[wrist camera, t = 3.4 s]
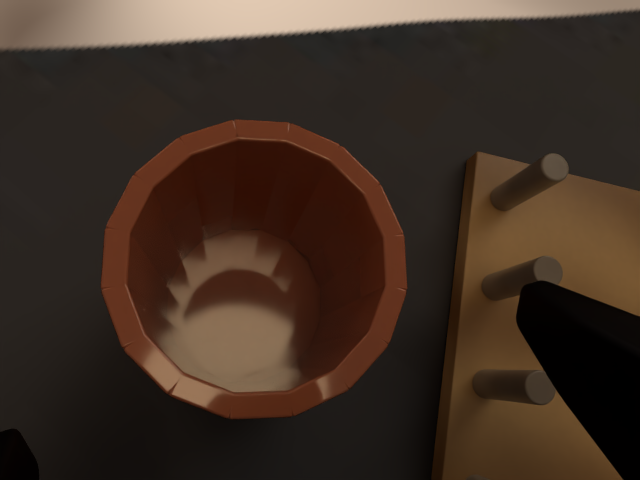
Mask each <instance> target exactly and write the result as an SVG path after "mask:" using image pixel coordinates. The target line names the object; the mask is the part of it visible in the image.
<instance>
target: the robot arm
mask: <svg viewBox="0 0 640 480" xmlns="http://www.w3.org/2000/svg"><path fill="white" fill-rule="evenodd" d="M516 322H517V326H518V328H519V330H520V332H521V333H522V335H523V337H524V338H525V340H526V342H527V343H528V345H529V347H530V348H531V350H532V352H533V353H534V355H535V357H536V358H537V360H538V361H539V363H540V365H541V366H542V368H543V370H544V371H545V373H546V375H547V376H548V378H549V380H550V381H551V383H552V384H553V386H554V387H555V389H556V391H557V392H558V394H559V395H560V396H561V398H562V399H563V401H564V402H565V403H566V405H567V406H568V407H569V409H570V410H571V411H572V413H573V414H574V415H575V417H576V418H577V419H578V421H579V422H580V423H581V425H582V426H583V427H584V429H585V430H586V431H587V433H588V434H589V435H590V437H591V438H592V439H593V441H594V442H595V443H596V445H597V446H598V447H599V449H600V450H601V451H602V452H603V454H604V455H605V456H606V458H607V459H608V460H609V462H610V463H611V464H612V466H613V467H614V468H615V470H616V471H617V472H618V474H619V475H620V476H621V478H622V479H623V480H640V316H637V315H634V314H632V313H629V312H627V311H624V310H621V309H619V308H616V307H613V306H611V305H608V304H606V303H603V302H600V301H598V300H595V299H593V298H590V297H587V296H585V295H582V294H580V293H577V292H574V291H572V290H569V289H566V288H564V287H561V286H559V285H556V284H553V283H551V282H548V281H545V280H539V281H536V282H532V283H529V284H526V285H524V286H523V287H522V289H521V291H520V297H519V302H518V307H517V313H516ZM0 480H39V468H38V464H37V461H36V458H35V457H34V455H33V453H32V452H31V450H30V448H29V447H28V445H27V443H26V441H25V440H24V438H23V436H22V435H21V433H20V432H19V431H18V430H17V429H9V430H5V431H2V432H0Z"/></svg>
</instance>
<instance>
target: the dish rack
mask: <svg viewBox="0 0 640 480" xmlns="http://www.w3.org/2000/svg"><path fill="white" fill-rule="evenodd" d="M568 171H569V168H568V164H567V162H566V160H565V159H564V158H563V157H562V156H560V155H558V154H555V153H550V154H546V155H545V156H543V157H542V158H540V159H539V160H537V161H536V162H534V163H533V164H531V165H530V164H526V163H522V162H518V161H514V160H510V159H506V158H502V157H498V156H494V155H490V154H486V153H482V152H476V153H475V154H474V155H473V156H472V157H470V158H469V159H468V160H467V163H466V172H465V181H464V190H463V198H462V207H461V216H460V225H459V234H458V243H457V252H456V261H455V270H454V279H453V288H452V297H451V306H450V314H449V323H448V332H447V341H446V350H445V359H444V368H443V377H442V386H441V395H440V404H439V413H438V422H437V430H436V439H435V448H434V457H433V466H432V475H431V480H623V479H622V478H621V476H620V475H619V474H618V472H617V471H616V470H615V468H614V467H613V466H612V464H611V463H610V462H609V460H608V459H607V458H606V456H605V455H604V454H603V452H602V451H601V450H600V449H599V447H598V446H597V445H596V443H595V442H594V441H593V439H592V438H591V437H590V435H589V434H588V433H587V431H586V430H585V429H584V427H583V426H582V425H581V423H580V422H579V421H578V419H577V418H576V417H575V415H574V414H573V413H572V411H571V410H570V409H569V407H568V406H567V405H566V403H565V402H564V401H563V399H562V398H561V396H560V395H559V394H558V392H557V391H556V389H555V387H554V386H553V384H552V383H551V381H550V380H549V378H548V376H547V375H546V373H545V371H544V370H543V368H542V366H541V365H540V363H539V361H538V360H537V358H536V357H535V355H534V353H533V352H532V350H531V348H530V347H529V345H528V343H527V342H526V340H525V338H524V337H523V335H522V333H521V332H520V330H519V328H518V326H517V322H516V313H517V307H518V302H519V297H520V291H521V289H522V287H523V286H524V285H526V284H529V283H532V282H536V281H539V280H545V281H548V282H551V283H553V284H556V285H559V286H561V287H564V288H566V289H569V290H572V291H574V292H577V293H580V294H582V295H585V296H587V297H590V298H593V299H595V300H598V301H600V302H603V303H606V304H608V305H611V306H613V307H616V308H619V309H621V310H624V311H627V312H629V313H632V314H634V315H637V316H640V191H636V190H631V189H627V188H623V187H619V186H615V185H611V184H607V183H603V182H599V181H595V180H591V179H587V178H583V177H579V176H575V175H571V174H568Z"/></svg>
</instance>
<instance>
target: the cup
mask: <svg viewBox="0 0 640 480" xmlns="http://www.w3.org/2000/svg"><path fill="white" fill-rule="evenodd" d="M134 175H135V176H134ZM134 175H133V176H132V177H131V179H130V181H129V183H128V185H127V187H126V188H125V190H124V192H123V194H122V196H121V198H120V200H119V202H118V204H117V206H116V207H115V209H114V211H113V213H112V215H111V217H110V219H109V221H108V223H107V225H106V229H105V231H104V245H103V259H102V273H101V289H102V291H101V293H102V296H103V298H104V301H105V304H106V307H107V309H108V312H109V315H110V317H111V320H112V323H113V326H114V328H115V331H116V334H117V337H118V339H119V342H120V345H121V347H122V348H124V352H125V353H126V354H127V355H128V356H129V357H130V358H131V359H132V360H133V361H134V362H135V363H136V364H137V365H138V366H139V367H140V368H141V369H142V370H143V371H144V372H145V373H146V374H147V375H148V376H149V377H150V378H151V379H152V380H153V381H154V382H155V383H156V384H157V385H158V386H159V387H160V388H161V389H162V390H163V391H164V392H165V393H166V394H169V396H170V397H172V398H175V399H177V400H180V401H182V402H185V403H187V404H190V405H192V406H195V407H197V408H200V409H203V410H205V411H208V412H210V413H213V414H215V415H218V416H220V417H223V418H225V419H226V418H229V419H231V420H234V419H260V418H286V417H292V416H297V415H299V414H301V413H303V412H305V411H307V410H309V409H311V408H313V407H315V406H318V405H320V404H322V403H324V402H326V401H328V400H330V399H332V398H334V397H336V396H338V395H341V394H343V393H345V392H347V391H348V389H351V388H352V387H353V385H354V384H355V383H356V382H357V381H358V380H359V379H360V378H361V376H362V375H363V374H364V373H365V372H366V371H367V370H368V368H369V367H370V366H371V365H372V364H373V363H374V362H375V361H376V359H377V358H378V357H379V356H380V355H381V354H382V353H383V351H384V350H385V349H386V348H387V347H388V344H389V343H390V340H391V337H392V334H393V332H394V329H395V326H396V323H397V320H398V317H399V314H400V311H401V308H402V305H403V302H404V299H405V296H406V293H407V292H406V290H407V275H406V258H405V241H404V235H403V231H402V229H401V226H400V224H399V222H398V220H397V218H396V216H395V213H394V211H393V209H392V207H391V205H390V203H389V200H388V198H387V196H386V194H385V192H384V190H383V188H382V186H381V185H380V183H379V181H378V180H377V179H376V178H375V177H373V176H372V175H371V174H370V173H369V172H368V171H367V170H366V169H365V168H364V167H363V166H362V165H361V164H360V163H359V162H358V161H357V160H356V159H355V158H354V157H353V156H352V155H351V154H350V153H349V152H348V151H347V150H346V149H345V148H344V147H343V146H340V145H339V144H338V143H335V142H333V141H331V140H328V139H326V138H324V137H322V136H319V135H317V134H315V133H313V132H310V131H308V130H306V129H304V128H301V127H299V126H297V125H294V124H289V123H288V122H271V121H253V120H234V121H233V120H230V121H227V122H224V123H221V124H217V125H214V126H211V127H208V128H205V129H202V130H199V131H196V132H192V133H189V134H186V135H183V136H181V137H180V139H179V138H177V139H175V140H174V141H173V142H172V143H171V144H169V145H168V146H167V147H166V148H164V149H163V150H162V151H161V152H160V153H158V154H157V155H156V156H155V157H154V158H152V159H151V160H150V161H149V162H147V163H146V164H145V165H144V166H143V167H141V168H140V169H139V170H138V171H136V172H135V174H134Z"/></svg>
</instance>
